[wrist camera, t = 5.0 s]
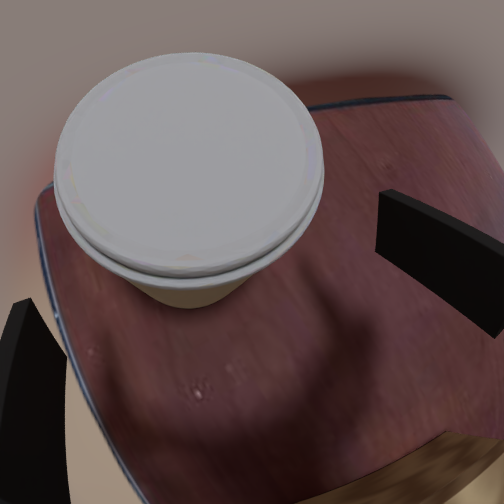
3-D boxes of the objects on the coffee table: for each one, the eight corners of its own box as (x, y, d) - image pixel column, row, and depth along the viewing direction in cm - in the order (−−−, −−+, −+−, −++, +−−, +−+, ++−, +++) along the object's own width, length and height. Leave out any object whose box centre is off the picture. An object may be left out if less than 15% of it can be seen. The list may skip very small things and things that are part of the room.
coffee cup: (231, 174, 22) (268, 39, 11) (278, 294, 20) (379, 226, 9) (107, 208, 20) (49, 81, 9) (141, 341, 18) (67, 327, 7)
